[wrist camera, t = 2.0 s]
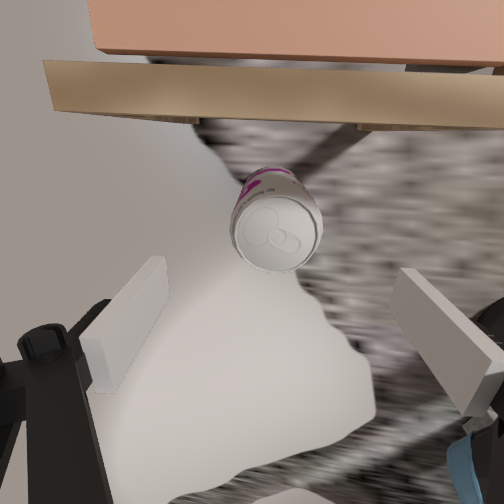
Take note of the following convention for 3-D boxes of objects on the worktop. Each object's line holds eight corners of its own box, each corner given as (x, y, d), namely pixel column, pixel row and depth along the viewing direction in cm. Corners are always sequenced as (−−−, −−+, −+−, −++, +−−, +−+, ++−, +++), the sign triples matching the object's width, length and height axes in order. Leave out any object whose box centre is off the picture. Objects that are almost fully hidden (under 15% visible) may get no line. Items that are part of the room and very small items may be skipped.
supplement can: (231, 208, 37) (211, 252, 23) (262, 152, 34) (259, 166, 20) (281, 236, 38) (290, 294, 25) (315, 185, 35) (347, 219, 22)
